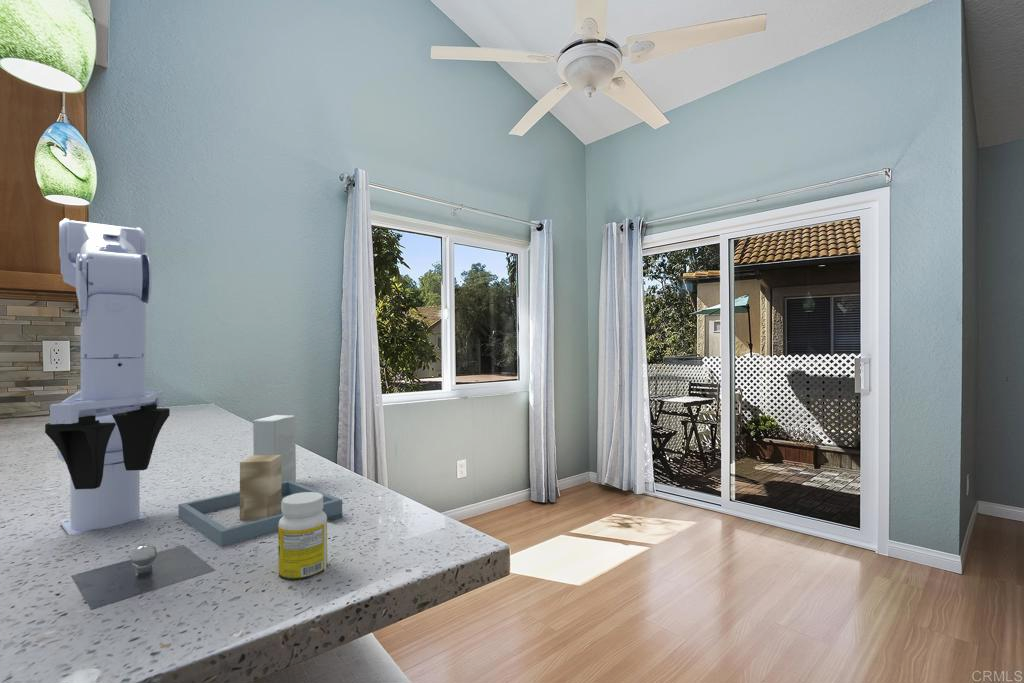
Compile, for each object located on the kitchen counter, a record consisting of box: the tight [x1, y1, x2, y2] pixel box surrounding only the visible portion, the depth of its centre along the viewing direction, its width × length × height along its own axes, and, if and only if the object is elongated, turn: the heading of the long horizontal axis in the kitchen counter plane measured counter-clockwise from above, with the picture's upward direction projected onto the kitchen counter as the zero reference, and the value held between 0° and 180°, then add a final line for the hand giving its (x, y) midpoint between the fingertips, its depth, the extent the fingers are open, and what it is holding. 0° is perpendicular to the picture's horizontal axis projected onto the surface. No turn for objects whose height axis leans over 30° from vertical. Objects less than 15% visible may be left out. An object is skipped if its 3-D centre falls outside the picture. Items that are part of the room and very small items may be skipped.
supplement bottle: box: [277, 492, 328, 582], centre depth 51 cm, size 5×5×8 cm
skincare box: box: [252, 414, 297, 483], centre depth 85 cm, size 6×4×12 cm
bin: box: [177, 480, 343, 548], centre depth 68 cm, size 16×16×2 cm
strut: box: [239, 454, 282, 521], centre depth 68 cm, size 4×4×8 cm
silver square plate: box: [70, 543, 216, 611], centre depth 51 cm, size 10×10×4 cm
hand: (113, 478), depth 55 cm, fingers open, 7 cm apart
